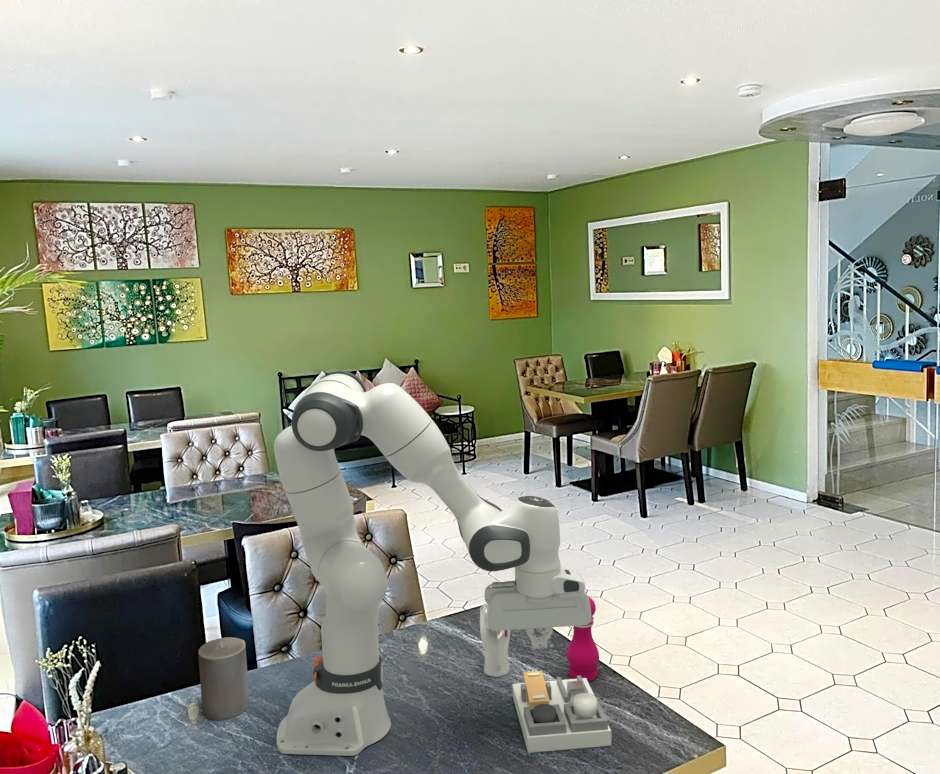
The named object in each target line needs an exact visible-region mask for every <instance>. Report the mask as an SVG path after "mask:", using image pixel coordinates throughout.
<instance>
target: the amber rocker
mask: <svg viewBox="0 0 940 774" xmlns="http://www.w3.org/2000/svg"><path fill="white" fill-rule="evenodd" d="M522 674H523V675H522V677H523V681H524V682H523V683H525V687H526V692H527V697H528V702H529V707H532V706H537V705H539V704H549V697H548V693H547V689H546V685H545V681H546V680H545V677H544V672H543V670H533V671H532V670H531V671H523V673H522Z"/></svg>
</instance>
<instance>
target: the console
mask: <svg viewBox="0 0 940 774" xmlns="http://www.w3.org/2000/svg"><path fill="white" fill-rule="evenodd" d="M569 681H582V683H583V685H584V687H585V693H589V694H592V695H594V696H595V694H594V692H593V689H592V687H591V686H590V683H589V681H587V679H586V678H582V677H581V676H577V679H573V678H569V679H562V678H561V677H560V676H558V677H556V680H547V681H546V680H545V685H546V689H547V693H548V697H549V705H552V706H553V707H555V709H556V722H549V723H538V724H534V722H533V708H534V707H535V706H532V707H529V702H528V697H527V692H526V687H525V683H524V682H520V683H518V682H517V683H512V686H511V687H512V699H513V703H514V706H515V711H516V713H517V714H516V715H517V717H518V721H519V724H520V725H519V726H520V729H521V732H522V736H523V740H524V744H525V746H526V751H527V753H528V754H529V753H541V752H542V753H544V752H551V751H552V752H553V751H567V750H576V749H586V748H588V749H589V748H597V747H598V748H600V747H609V746H610V747H611V746H612V730H611V727H610V725H609V720H608V718H607V716H606V714H605V712H604V710H603V707H602V706H601V703H600V701H598V700H597V713H596V715H594V716H592V717H580V716H578V715H576V714H575V713H574V703H570V701H569V698H568V694H567V682H569Z"/></svg>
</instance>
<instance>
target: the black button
mask: <svg viewBox="0 0 940 774" xmlns="http://www.w3.org/2000/svg"><path fill="white" fill-rule="evenodd" d="M533 722H534V724H538V723H549V722H556V709H555V707H553V706H552V705H549V704H539V705H537V706H535V707H534V708H533Z"/></svg>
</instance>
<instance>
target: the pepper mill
mask: <svg viewBox="0 0 940 774" xmlns="http://www.w3.org/2000/svg"><path fill="white" fill-rule="evenodd" d="M588 597H589V601H590V607H591V621H590V623H589V624H588V625H582V626H572V627H573V634H572V638H571V640H570V643H569V644H568V648H567V651H566V660H567V662H568V664H570V665H569V667H568V674H569V677H570V679H577V676H581V677H582V678H586V679H587V681H588V682H591V681H594V680H595V679H596V678H597V677H598V666H597V665H598V663H599V661H600V654H599V653H600V652H599V650H598V647H597V644H596V642H595V640H594V638H593V634H592V627H593V625H594V623H595V622H594V618H595V617H593V616H594V615H595V613H596V610H597V609H596V608H597V607H596V603H595V600H594V599H593V598H592V597H590V596H589V595H588Z"/></svg>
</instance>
